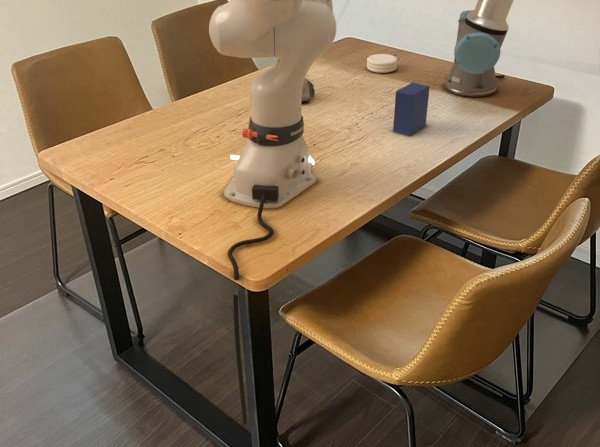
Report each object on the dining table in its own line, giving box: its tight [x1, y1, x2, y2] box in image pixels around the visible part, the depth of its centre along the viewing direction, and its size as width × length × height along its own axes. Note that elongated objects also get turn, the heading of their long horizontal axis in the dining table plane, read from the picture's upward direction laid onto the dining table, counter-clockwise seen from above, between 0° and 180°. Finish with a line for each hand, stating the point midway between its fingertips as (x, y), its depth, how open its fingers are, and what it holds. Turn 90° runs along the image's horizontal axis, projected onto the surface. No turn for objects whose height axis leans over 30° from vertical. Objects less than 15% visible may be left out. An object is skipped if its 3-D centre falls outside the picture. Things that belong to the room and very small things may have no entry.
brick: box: [392, 81, 431, 137], centre depth 162 cm, size 5×8×11 cm, turn 141°
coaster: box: [366, 53, 398, 74], centre depth 205 cm, size 10×10×4 cm
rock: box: [301, 77, 316, 102], centre depth 184 cm, size 15×10×7 cm
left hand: (297, 34), depth 155 cm, fingers open, 8 cm apart
